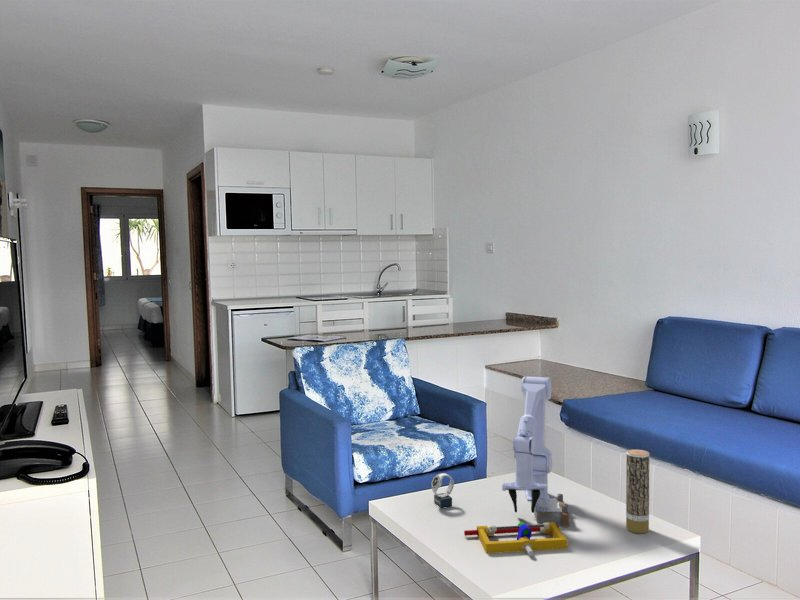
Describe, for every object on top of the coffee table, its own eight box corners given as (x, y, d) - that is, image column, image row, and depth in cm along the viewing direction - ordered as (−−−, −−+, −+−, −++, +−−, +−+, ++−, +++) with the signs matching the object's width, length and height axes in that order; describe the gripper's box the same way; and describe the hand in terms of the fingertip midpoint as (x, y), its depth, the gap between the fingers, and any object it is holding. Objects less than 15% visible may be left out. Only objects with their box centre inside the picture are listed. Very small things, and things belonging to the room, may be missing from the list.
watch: (429, 504, 239) (428, 473, 238) (449, 500, 242) (449, 470, 241) (435, 509, 234) (435, 478, 233) (456, 505, 237) (456, 475, 236)
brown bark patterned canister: (653, 530, 213) (653, 453, 211) (640, 536, 209) (640, 457, 207) (634, 523, 219) (635, 448, 217) (621, 529, 215) (622, 452, 213)
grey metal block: (532, 509, 233) (532, 498, 232) (556, 509, 232) (556, 498, 232) (536, 523, 221) (536, 511, 220) (561, 523, 220) (561, 511, 220)
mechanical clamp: (463, 517, 212) (556, 512, 215) (463, 536, 213) (556, 531, 215) (474, 541, 194) (576, 536, 197) (475, 563, 194) (576, 557, 197)
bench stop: (556, 509, 232) (556, 492, 232) (562, 509, 232) (562, 492, 232) (562, 526, 217) (562, 508, 217) (569, 526, 217) (569, 508, 217)
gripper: (502, 475, 221) (503, 515, 222) (547, 475, 220) (547, 516, 221) (501, 468, 228) (501, 507, 229) (545, 468, 227) (545, 508, 228)
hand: (524, 511), depth 226 cm, fingers open, 5 cm apart
